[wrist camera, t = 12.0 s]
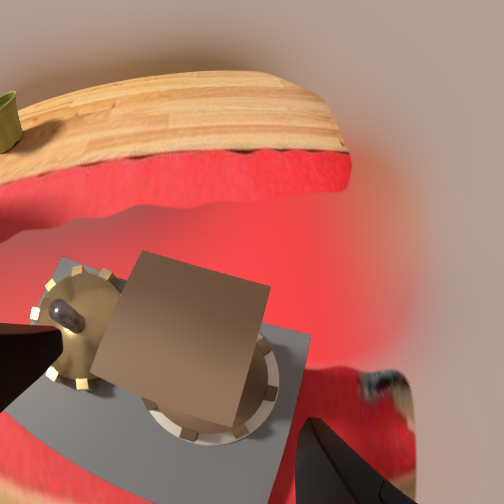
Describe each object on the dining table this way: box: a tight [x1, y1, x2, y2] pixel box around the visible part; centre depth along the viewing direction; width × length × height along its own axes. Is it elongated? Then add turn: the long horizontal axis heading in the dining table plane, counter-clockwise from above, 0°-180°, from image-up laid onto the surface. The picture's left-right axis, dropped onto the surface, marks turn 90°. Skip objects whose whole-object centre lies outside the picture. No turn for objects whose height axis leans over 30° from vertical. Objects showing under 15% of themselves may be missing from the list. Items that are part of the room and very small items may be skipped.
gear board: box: [4, 257, 311, 504], centre depth 18 cm, size 16×23×2 cm
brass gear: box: [30, 265, 122, 392], centre depth 18 cm, size 10×10×4 cm
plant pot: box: [0, 91, 23, 153], centre depth 31 cm, size 9×9×9 cm
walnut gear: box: [90, 250, 279, 442], centre depth 13 cm, size 9×9×12 cm
